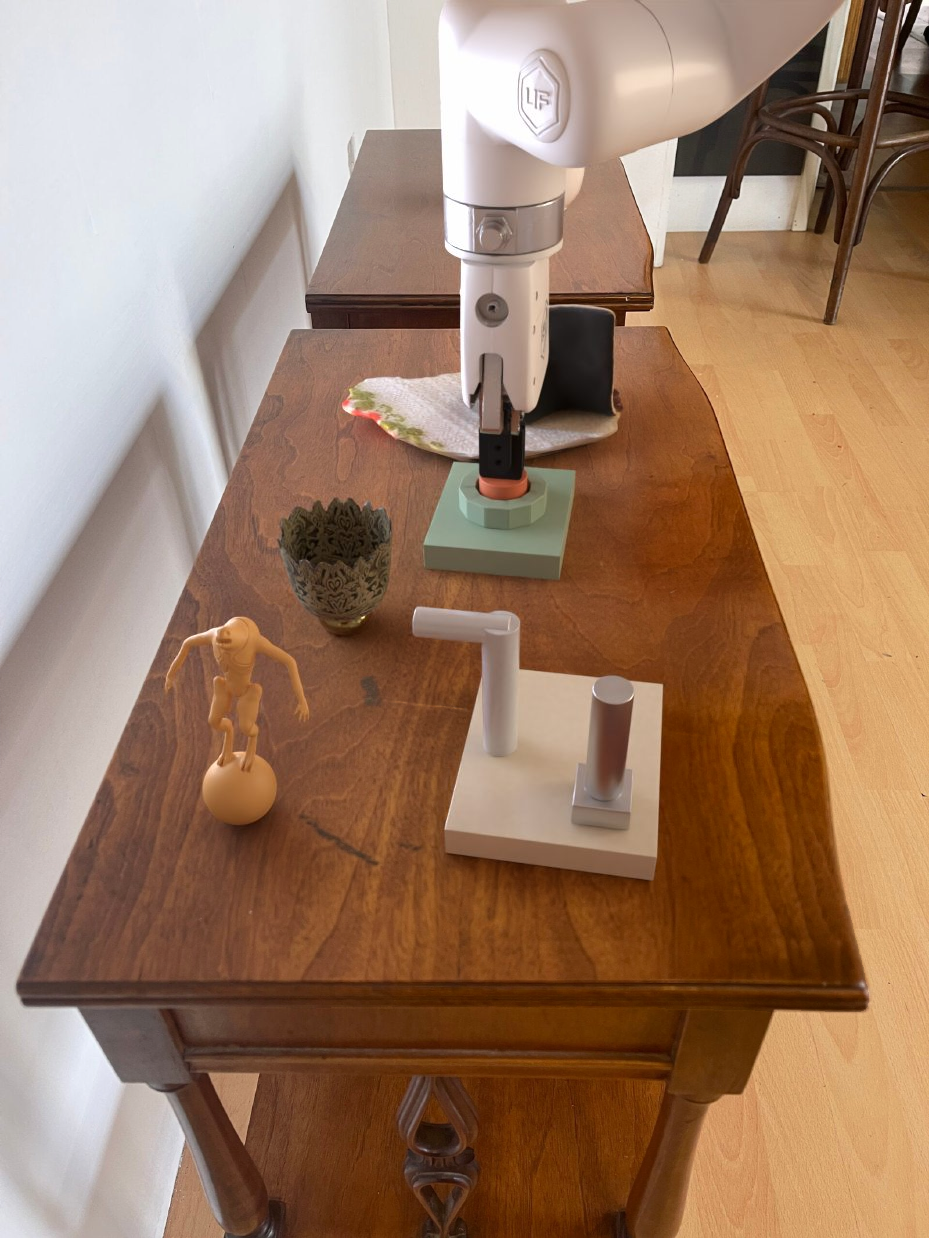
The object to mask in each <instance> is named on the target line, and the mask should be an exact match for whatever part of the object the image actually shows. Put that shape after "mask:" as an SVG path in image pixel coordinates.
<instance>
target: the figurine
mask: <svg viewBox="0 0 929 1238" xmlns="http://www.w3.org/2000/svg"><path fill="white" fill-rule="evenodd" d="M207 645H212V652H213V657H214V659H215V661H216V663H217V664H218V666H220V669H221V672H222V673H223V675H224V676H220V675H216V676H215V677H214V678H213V680H212V683H213V696H212V700H211V705H210V712H209V716H208V718H207V722H208V724H209V725H210V727H211V728H212V729H214V730H218V731H221V732H225V733H224V738H223V744H222V745H223V746H222V750H221V754H220V755H219V756H218V757H217V760H215V761H214V762H213V763H212V764H211V765H210V767H209V768H208V770H207V771H206V773H205V775H204V778H203V782H202V797H203V798H202V799H203V801H204V804H205V806H206V808H207V809H208V812H210V813H211V815H213V817H214V818H216V819H217V820H219V821H221V822H222V823H224V824H227V825H233V826H245V825H249V824H252V823H255V822H257V821H258V820H259V819H262V818H263V817H264V816H265V815H266V814H267V813H268V812H269V811H270V809H271V808H272V806H273V804H274V803H275V800H276V798H277V797H276V796H277V792H278V783H277V777H276V774H275V772H274V770H273V768H272V767H271V765H270V764H269V763H268V762H267V761H266V760H265V759H264V758H263V757H262V756H260V755H257V754H256V751H257V744H258V734H259V726H258V725H257V724H256V721H257V718H258V715H259V708H260V707H259V706H260V700H261V698H262V696H263V687H262V686H261V685H260V684H259V683H256V682H254V683H251V679H252V672H253V669H254V666H255V663H256V659H257V654H262V655H265V656H267V657H268V658H270V659H272V660H274V661H276V662H278V663H280V664H282V665H285V666H286V669H287V672H288V676H289V677H290V681H291V686H292V689H293V692H294V694H295V697H296V699H297V700H298V703H299V704H298V705H297V706H296V708H295V710H294V713H293V714H294V715H296V714H297V713H298V712H299V714H298V715H299V716H298V723H301V721H302V719H303V723H305V722H306V720H309V718H310V710H309V706H308V702H307V700H306V697H305V692H304V687H303V684H302V681H301V677H300V675H299V669H298V664H297V661H296V659H294V657H293V656H291V655H290V654H289V653H287V651H284V650H283V649H281V648H280V647H278V646H276V645H274V644H273V643H271V642H270V641H269V639H267V637H264V636H263V635H261V633H260V630H259V627H258V626H257V624H256V623H255V622H254V621H253V620H252V619H250V618H249V617H246V616H235V617H231V619H229V620H228V621H227V622H226V623H225V624H223V625H222V626H218V627H213V628H211V629H209V630H207V631H205V632H201V633H197V634H194V635H191V636H189V637H187V638H186V639H185V640H184V641H183V642H182V645H181V647H180V650H179V652H178V654H177V655H176V657H175V659H174V660H173V661H172V663H171V664H170V668H169V670H168V672H167V674H166V678H165V685H164V694H165V695H166V696H168V694H169V690H170V689H171V687H172V678H173V677H174V675H176V674H177V672H178V671H179V670H180V668H181V667H182V665H183V664H184V662H185V660H186V658H187V656H188V655H189V653H190V649H191V648H192V647H201V646H207ZM233 697H234V698H239V699H238V701H237V702H236V707H235V711H236V716H237V717H238V725H239V729H240V731H241V732H242V734H243V735H244V736H247V737H248V739H247V745H246V750H245V751H234V752H233V745H234V734H235V733H234V732H235V730H234V726H233V722H232V720H231V719H229V718H228V717H224V716H225V715H226V714H228V713H229V712H230V711H231V709H232V704H233ZM302 717H303V718H302Z"/></svg>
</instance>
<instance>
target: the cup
mask: <svg viewBox="0 0 929 1238" xmlns="http://www.w3.org/2000/svg"><path fill="white" fill-rule="evenodd" d="M288 516H289V517H288V518H286V517H282V518H280V521H279V528H280V531H281V532H280V533H281V535H280V536H279V537H275V538H276V542H277V545H278V548H279V551H280V555H281V557H282V560H283V565H284V568H285V570H286V573H287V576H288V579H289V582H290V585H291V588H292V590H293V592H294V595H295V597H296V599H297V600H298V602H299V603H300V605H301V606H302V607H303V608H304V610H305V611H307V612H308V613H310V615H312V616H314V617H316V618H318V621H319V623H320V625H321V626H322V628H323V629H325V630H326V631H327V632H328V633H330V634H331V635H335V636H343V637H344V636H352V635H355V634H358V633H360V632H362V631H363V630H364V629H366V628H367V627H368V625H369V624H370V622H371V619H372V617H373V612H374V610H376V608H378V607H379V606H380V604H381V602H382V601H383V600H384V598H385V596H386V595H387V594H386V593H387V591H388V587H389V582H390V576H391V566H392V548H393V547H392V544H393V533H392V531H393V527H392V518H391V517H388V513H387V510H386V508H385V507H383V506H381V507H379V508H376V509H374V508H373V506H372V503H371V501H370V500H367V501H366V502H365V503H364V504H363V506H362V508H361V507H360V505H359V504H357V503H356V501H355V500H354V498H352V497H347V498H346V500H345V502H344V501H343V500H341V499H340V498H339V497H338V496H335V497H333V498H332V499H331V501H330V502H329V504H328V506H327V510H326V508H325V507H323V504H322V501H321V500H319V499H317V500H316V501H315V502H314V503H313V505H312V508H311V510H307V509H306V508H304V507H303V506H298V505H297V506H294V508H293V509H292V511H291V512H290V514H289V515H288Z"/></svg>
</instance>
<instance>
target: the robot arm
mask: <svg viewBox="0 0 929 1238" xmlns="http://www.w3.org/2000/svg"><path fill="white" fill-rule="evenodd" d="M846 1H847V0H581V1H575V2H569V3H568V2H567V0H445V2H444V4H443V6H442V8H441V12H440V14H439V19H438V61H439V63H438V64H439V92H440V94H439V97H440V126H441V128H440V129H441V157H442V158H441V160H442V191H443V193H442V194H443V195H442V196H443V197H442V198H443V226H444V227H443V229H444V231H443V232H444V248H445V249H446V251H447V252H448V253H449V254H451V255H453V256H454V257H457V258H459V259H460V290H459V295H460V319H459V321H460V325H459V326H460V330H459V331H460V335H459V336H460V371H461V380H462V394H463V401H464V403H465V404H466V406H468V407H469V408H470V409H473V407H474V405H475V404H476V401H477V398H478V399H479V400H478V401H479V424H480V427H479V462H478V463H479V474H480V476H481V477H483V478H496V479H509V480H520V479H521V478H522V474H523V470H524V466H525V465H526V464H525V462H526V459H525V432H526V422H520V420H523V417H524V412H525V413H529V412H530V411H532V410H533V409H534V408H535V407H536V405H537V402H538V398H539V395H540V391H541V388H542V384H543V380H544V376H545V372H546V368H547V363H548V354H549V306H550V257H552V256H554V255H555V254H556V253H559V251H561V249H562V248H563V245H564V241H563V240H564V222H565V211H564V204H565V181H566V168H583V167H585V168H588V167H593V166H597V165H601V164H603V163H606V162H609V161H612V160H615V159H618V158H621V157H624V156H627V155H630V154H633V153H636V152H637V151H639V150H643V149H646V148H650V147H651V146H655V145H659V144H661V143H665V142H668V141H671V140H676V139H678V138H681V137H684V136H687V135H690V134H693V133H695V132H697V131H699V130H702V129H703V128H705V127H707V126H708V125H710V124H712V123H713V122H715V121H717V120H718V119H719V118H721V117H723V116H724V115H725V114H726V113H727V112H729V111H730V110H732V109H733V108H734V107H735V106H737V105H738V104H739V103H740V102H741V101H743V100H744V99H745V98H746V97H747V96H749V95H750V94H752V92H753V91H755V89H757V88H758V87H759V86H760V85H762V84H763V83H764V82H765V81H767V79H769V78H770V77H771V76H772V75H773V74H774V73H775V72H777V71H778V70H779V69H780V68H782V67H783V66H784V65H785V64H786V63H787V62H789V61H790V60H791V59H793V57H794V56H795V55H796V54H798V53H800V51H801V50H802V49H803V48H804V47H805V46H807V44H808V43H810V42H811V41H812V40H813V38H814V37H816V36H817V35H818V34H819V32H821V31H822V30H823V28H825V26H826V25H827V24H828V23H829V22H830V21H831V20H832V19H833V18H834V16H835V15H836V14H837V13H838V12H839V10H840V9H841V8H842V7H843V5H844V4H845V3H846ZM525 467H526V466H525Z"/></svg>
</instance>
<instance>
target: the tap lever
mask: <svg viewBox="0 0 929 1238" xmlns="http://www.w3.org/2000/svg"><path fill="white" fill-rule="evenodd" d="M629 681H630V680H629V679H627V678H625V677H623V676H620V675H604V676H601V677H599V679H598V680H597V681H596V682H595V683H594V685H593V688H592V700H591V712H590V724H589V736H588V748H587V760H586V764H584V763H578V764H577V771H576V779H575V787H574V795H573V803H572V816H571V823H574V824H581V825H589V826H597V827H605V828H613V829H621V830H629V825H630V817H631V807H632V791H633V775H634V770H633V769H626V759H627V751H628V743H629V735H630V727H631V718H632V710H633V702H634V694H635V690H634V687H633V685H632V684H631V683H630V682H629Z"/></svg>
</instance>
